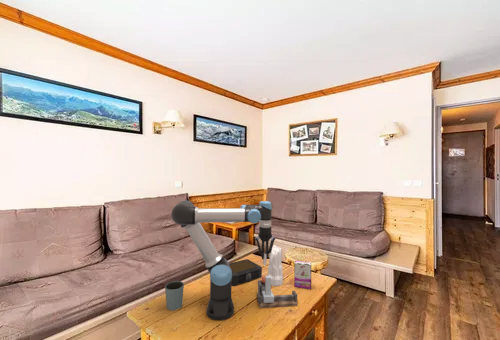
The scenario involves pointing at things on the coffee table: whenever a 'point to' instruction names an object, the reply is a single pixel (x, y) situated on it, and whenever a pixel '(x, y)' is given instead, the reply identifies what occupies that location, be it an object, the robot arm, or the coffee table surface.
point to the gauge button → (263, 279)
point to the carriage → (268, 291)
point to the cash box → (244, 271)
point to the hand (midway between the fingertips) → (264, 264)
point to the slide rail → (279, 300)
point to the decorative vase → (275, 266)
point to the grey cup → (174, 295)
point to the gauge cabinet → (261, 287)
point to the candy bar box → (302, 274)
